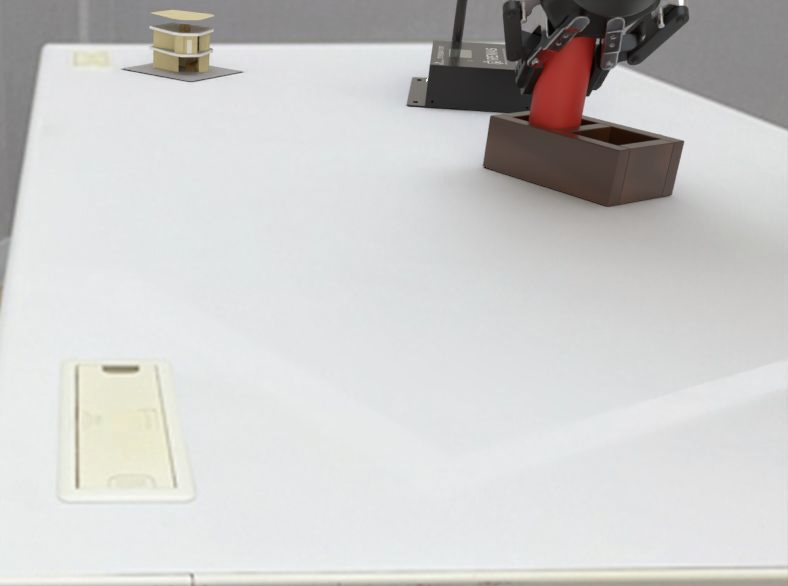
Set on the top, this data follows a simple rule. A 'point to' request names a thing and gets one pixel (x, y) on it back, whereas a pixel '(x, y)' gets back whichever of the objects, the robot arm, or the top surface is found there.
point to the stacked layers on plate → (182, 49)
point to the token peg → (563, 85)
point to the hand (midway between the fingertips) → (553, 85)
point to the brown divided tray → (585, 158)
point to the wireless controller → (469, 75)
